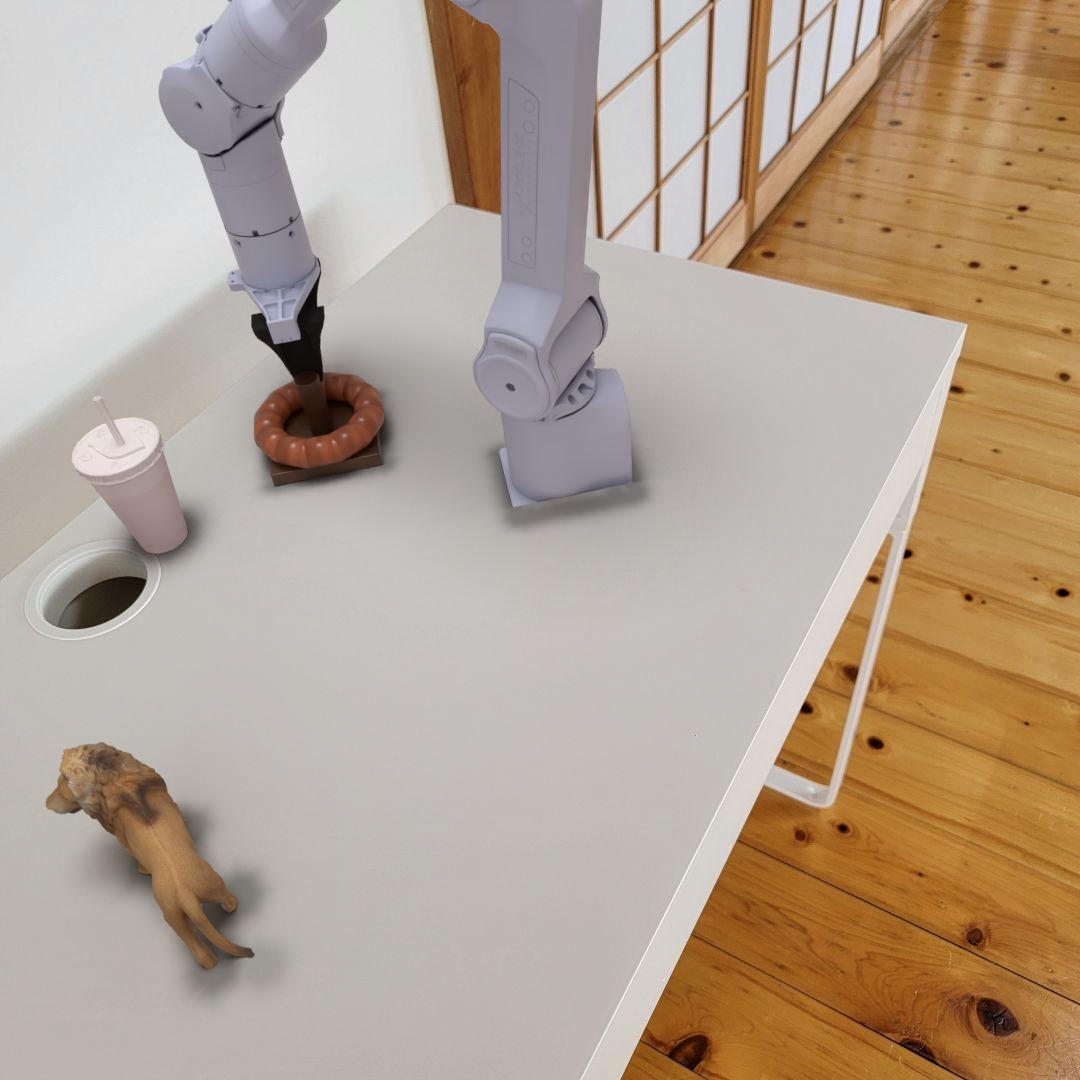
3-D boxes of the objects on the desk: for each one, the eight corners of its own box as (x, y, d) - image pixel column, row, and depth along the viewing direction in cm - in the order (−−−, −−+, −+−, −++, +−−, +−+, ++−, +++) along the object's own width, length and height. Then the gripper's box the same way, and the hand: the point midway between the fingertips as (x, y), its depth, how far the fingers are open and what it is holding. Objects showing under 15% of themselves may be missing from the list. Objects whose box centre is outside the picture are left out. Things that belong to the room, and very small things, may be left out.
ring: (379, 378, 88) (374, 356, 86) (391, 457, 81) (385, 435, 79) (258, 402, 87) (250, 381, 86) (259, 485, 80) (250, 463, 78)
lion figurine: (85, 848, 61) (14, 773, 54) (157, 785, 63) (98, 707, 57) (232, 1005, 54) (171, 941, 47) (306, 927, 56) (259, 856, 50)
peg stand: (374, 398, 88) (357, 335, 83) (383, 464, 82) (365, 401, 77) (273, 417, 88) (250, 356, 83) (274, 486, 82) (249, 424, 77)
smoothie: (183, 570, 76) (108, 431, 66) (108, 562, 77) (24, 425, 67) (217, 510, 80) (152, 371, 70) (146, 504, 81) (72, 366, 71)
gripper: (211, 181, 79) (262, 324, 89) (204, 278, 69) (262, 427, 79) (300, 165, 79) (340, 309, 89) (305, 259, 70) (350, 409, 79)
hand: (309, 363), depth 84 cm, fingers open, 4 cm apart
